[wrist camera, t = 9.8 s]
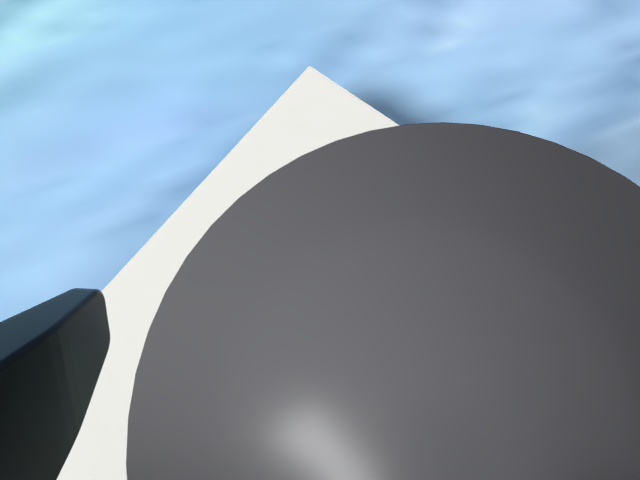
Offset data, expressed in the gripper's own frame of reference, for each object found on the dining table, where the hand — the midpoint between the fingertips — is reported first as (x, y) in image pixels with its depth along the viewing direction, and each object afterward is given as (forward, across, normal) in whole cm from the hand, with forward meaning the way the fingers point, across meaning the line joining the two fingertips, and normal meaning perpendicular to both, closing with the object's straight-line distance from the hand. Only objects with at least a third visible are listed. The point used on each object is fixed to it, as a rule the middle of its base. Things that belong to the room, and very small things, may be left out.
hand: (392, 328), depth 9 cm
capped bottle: (+5, 0, +7) cm, 9 cm away
